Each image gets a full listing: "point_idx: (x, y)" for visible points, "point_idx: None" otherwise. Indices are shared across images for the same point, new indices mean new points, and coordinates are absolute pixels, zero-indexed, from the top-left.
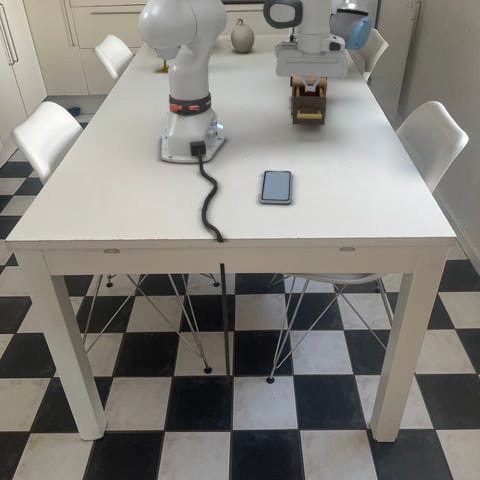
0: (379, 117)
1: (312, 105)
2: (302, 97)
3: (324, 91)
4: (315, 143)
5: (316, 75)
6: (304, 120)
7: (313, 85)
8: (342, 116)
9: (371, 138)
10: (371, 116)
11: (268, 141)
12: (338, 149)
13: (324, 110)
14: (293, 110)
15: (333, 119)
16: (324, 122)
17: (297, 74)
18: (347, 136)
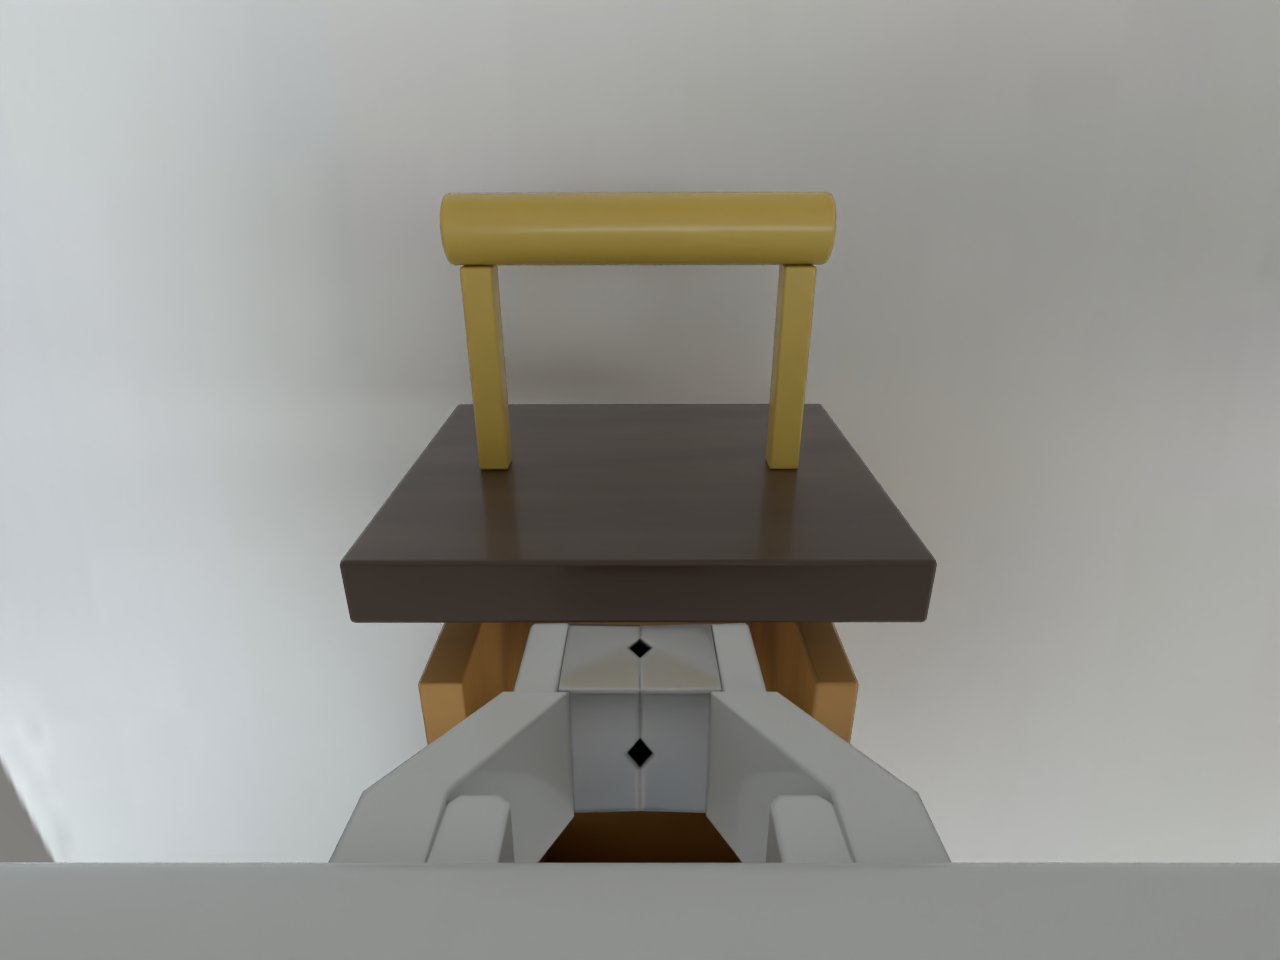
0: (26, 772)
1: (591, 500)
2: (772, 568)
3: None
4: (558, 160)
5: (415, 888)
6: (688, 421)
7: (565, 710)
8: (340, 777)
9: (6, 325)
10: (97, 787)
11: (1056, 183)
12: (301, 4)
13: (422, 470)
14: (860, 465)
15: (412, 718)
16: (451, 415)
17: (1253, 920)
18: (247, 360)
